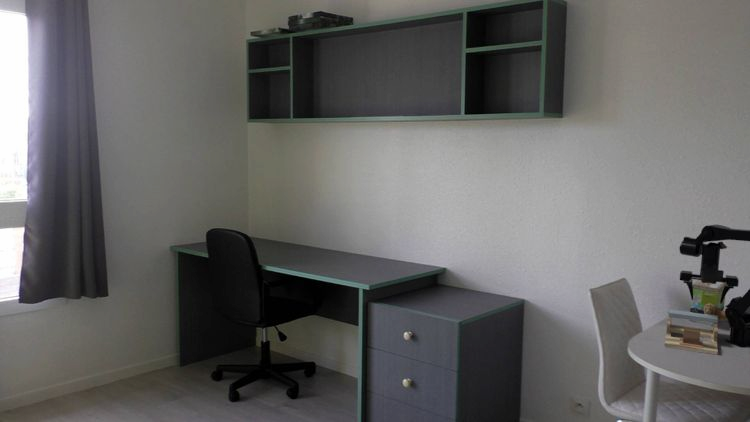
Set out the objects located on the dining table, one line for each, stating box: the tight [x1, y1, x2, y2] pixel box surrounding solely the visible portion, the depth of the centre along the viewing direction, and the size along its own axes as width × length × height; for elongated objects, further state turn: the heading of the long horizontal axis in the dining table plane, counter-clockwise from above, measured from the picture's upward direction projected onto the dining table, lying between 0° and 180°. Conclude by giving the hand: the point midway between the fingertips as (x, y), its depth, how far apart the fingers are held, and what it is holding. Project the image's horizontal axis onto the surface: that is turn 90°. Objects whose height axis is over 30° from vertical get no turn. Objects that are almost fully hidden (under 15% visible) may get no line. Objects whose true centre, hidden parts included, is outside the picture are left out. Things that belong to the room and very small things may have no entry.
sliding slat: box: [667, 309, 719, 324], centre depth 236 cm, size 5×16×2 cm, turn 63°
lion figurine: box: [704, 303, 731, 329], centre depth 242 cm, size 15×5×9 cm, turn 73°
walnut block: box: [682, 325, 702, 345], centre depth 219 cm, size 5×5×4 cm
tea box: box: [689, 280, 726, 325], centre depth 253 cm, size 15×10×15 cm, turn 143°
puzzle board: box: [664, 317, 719, 356], centre depth 227 cm, size 26×16×5 cm, turn 153°
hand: (706, 301), depth 234 cm, fingers open, 9 cm apart
